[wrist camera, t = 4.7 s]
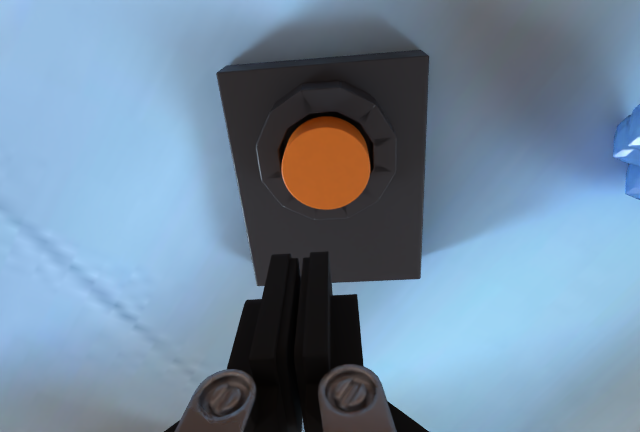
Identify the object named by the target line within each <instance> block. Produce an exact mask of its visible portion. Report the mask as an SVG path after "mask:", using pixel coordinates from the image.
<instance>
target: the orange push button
mask: <svg viewBox="0 0 640 432" xmlns="http://www.w3.org/2000/svg"><path fill="white" fill-rule="evenodd" d="M281 168H282V176H283V180H284V183H285V185H286V187H287V189H288V190H289V191H290V193H291V194H292V195H293V196H294V197H295V198H296V199H297V200H299V201H300V202H302V203H303V204H305V205H307V206H310V207H312V208H317V209H336V208H340V207H343V206H345V205H347V204H349V203H351V202H352V201H354V200H355V199H356V198H357V197H359V195H360V194H361V193H362V192H363V190H364V189H365V187H366V185H367V183H368V180H369V177H370V160H369V154H368V149H367V145H366V142H365V140H364V138H363V136H362V134H361V133H360V132H359V130H358V129H357V128H356V127H355V126H353V125H352V124H351V123H349V122H347V121H346V120H343V119H341V118H337V117H332V116H321V117H316V118H312V119H310V120H308V121H306V122H304V123H302V124H301V125H300V126H299V127H297V128H296V130H295V131H294V132H293V133H292V135H291V136H290V138H289V140H288V143H287V146H286V149H285V152H284V155H283V159H282V167H281Z"/></svg>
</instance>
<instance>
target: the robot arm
mask: <svg viewBox="0 0 640 432" xmlns="http://www.w3.org/2000/svg"><path fill="white" fill-rule="evenodd" d="M302 416H303V423H304V429H305V432H429V431H427V430H426V429H425V428H423V427H422V426H421V425H419V424H418V423H417V422H415V421H414V420H412V419H411V418H410V417H408V416H407V415H406V414H404V413H403V412H402V411H400V410H399V409H397V408H396V407H395V406H393V405H392V404H391V403H389V402H388V401H387V399H386V396H385V393H384V390H383V387H382V384H381V382H380V380H379V378H378V376H377V375H376V374H375V373H373V372H372V371H371V370H370V369H368V368H366V367H364V366H363V356H362V345H361V334H360V322H359V311H358V300H357V294H353V295H332V283H331V271H330V259H329V251H324V252H310V257H304V258H303V264H302V274H301V275H300V268H299V260H298V258H292V256H291V254H290V253H289V254H272V256H271V259H270V264H269V269H268V273H267V278H266V282H265V287H264V291H263V296H262V299H255V300H247V301H246V302H245V304H244V307H243V311H242V315H241V318H240V322H239V326H238V330H237V333H236V337H235V341H234V344H233V348H232V352H231V355H230V359H229V363H228V367H227V369H226V370H223V371H219V372H216V373H214V374H213V375H211V376H209V377H207V378H206V379H205V380H204V381H203V382H202V383H201V384H200V385H199V386H198V388H197V389H196V391H195V392H194V394H193V396H192V398H191V400H190V402H189V404H188V406H187V408H186V410H185V412H184V414H183V416H182V418H181V420H180V421H178V422H177V423H175V424H174V425H173V426H171V427H170V428H168V429H167V430H166V431H164V432H301V431H302Z"/></svg>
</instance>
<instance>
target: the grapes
mask: <svg viewBox="0 0 640 432" xmlns="http://www.w3.org/2000/svg"><path fill="white" fill-rule="evenodd" d="M613 157H614V158H616V159H619V160H621V161H623V162H626V163H629V167H628V170H627V173H626V191H625V194H627V195H629V196H632V197H634V198H636V199H639V200H640V104H639V105H638V106H637V107H636V108H635V109H634V110H633V112H632V115H629V116H628V117H627V118H625V119H624V120H623V121H622V122H621V123H620V124H619V125H618V126H617V130H616V133H615V136H614V150H613Z"/></svg>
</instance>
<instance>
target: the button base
mask: <svg viewBox="0 0 640 432" xmlns="http://www.w3.org/2000/svg"><path fill="white" fill-rule="evenodd" d="M428 73H429V56H428V55H427V54H426V53H424V52H423V51H422V50H414V51H402V52H389V53H377V54H365V55H353V56H340V57H328V58H316V59H303V60H291V61H279V62H267V63H254V64H242V65H230V66H225V67H224V68H223V69H221V70H220V71H218V72H217V79H218V85H219V90H220V95H221V100H222V106H223V111H224V116H225V121H226V127H227V132H228V137H229V142H230V148H231V153H232V158H233V163H234V169H235V174H236V179H237V184H238V189H239V195H240V200H241V205H242V210H243V216H244V221H245V226H246V231H247V237H248V242H249V247H250V252H251V258H252V263H253V268H254V273H255V278H256V284H257V286H265V282H266V278H267V273H268V269H269V264H270V259H271V256H272V254H289V253H290V254H291V256H292V258H298V260H299V268H300V275H301V274H302V264H303V258H304V257H310V252H324V251H329V259H330V271H331V283H337V282H360V281H383V280H406V279H420V278H421V252H422V227H423V201H424V175H425V150H426V124H427V98H428ZM321 116H332V117H337V118H341V119H343V120H346V121H347V122H349V123H351V124H352V125H353V126H355V127H356V128H357V129H358V130H359V132H360V133H361V134H362V136H363V138H364V140H365V142H366V145H367V149H368V154H369V160H370V177H369V180H368V183H367V185H366V187H365V189H364V190H363V192H362V193H361V194H360V195H359V197H357V198H356V199H355V200H354V201H352V202H351V203H349V204H347V205H345V206H343V207H340V208H336V209H317V208H312V207H310V206H307V205H305V204H303V203H302V202H300V201H299V200H297V199H296V198H295V197H294V196H293V195H292V194H291V193H290V191H289V190H288V189H287V187H286V185H285V183H284V180H283V176H282V168H281V167H282V159H283V155H284V152H285V149H286V146H287V143H288V140H289V138H290V136H291V135H292V133H293V132H294V131H295V130H296V128H297V127H299V126H300V125H301V124H302V123H304V122H306V121H308V120H310V119H312V118H316V117H321Z"/></svg>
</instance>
